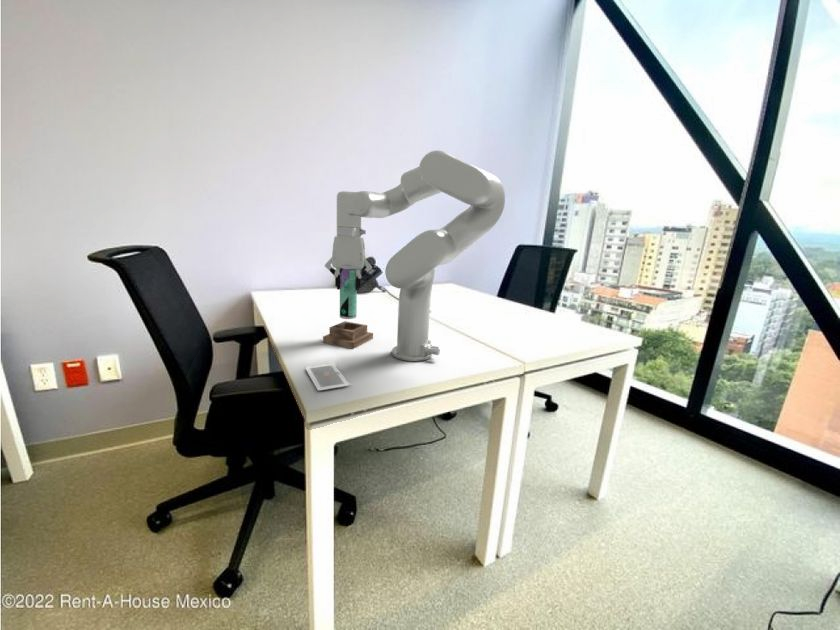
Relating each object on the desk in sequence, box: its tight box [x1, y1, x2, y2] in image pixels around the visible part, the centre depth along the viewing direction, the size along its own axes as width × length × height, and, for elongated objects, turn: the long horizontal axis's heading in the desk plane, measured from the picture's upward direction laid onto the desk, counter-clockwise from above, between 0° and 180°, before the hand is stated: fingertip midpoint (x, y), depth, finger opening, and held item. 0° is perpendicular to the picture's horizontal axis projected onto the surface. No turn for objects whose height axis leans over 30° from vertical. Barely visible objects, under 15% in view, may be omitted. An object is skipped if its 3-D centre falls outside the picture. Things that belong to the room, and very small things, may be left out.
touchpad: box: [304, 363, 351, 391], centre depth 97 cm, size 8×15×2 cm, turn 28°
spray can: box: [339, 265, 358, 320], centre depth 122 cm, size 6×6×20 cm
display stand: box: [322, 320, 374, 349], centre depth 126 cm, size 12×12×5 cm
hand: (348, 288), depth 122 cm, fingers closed on spray can, 5 cm apart
